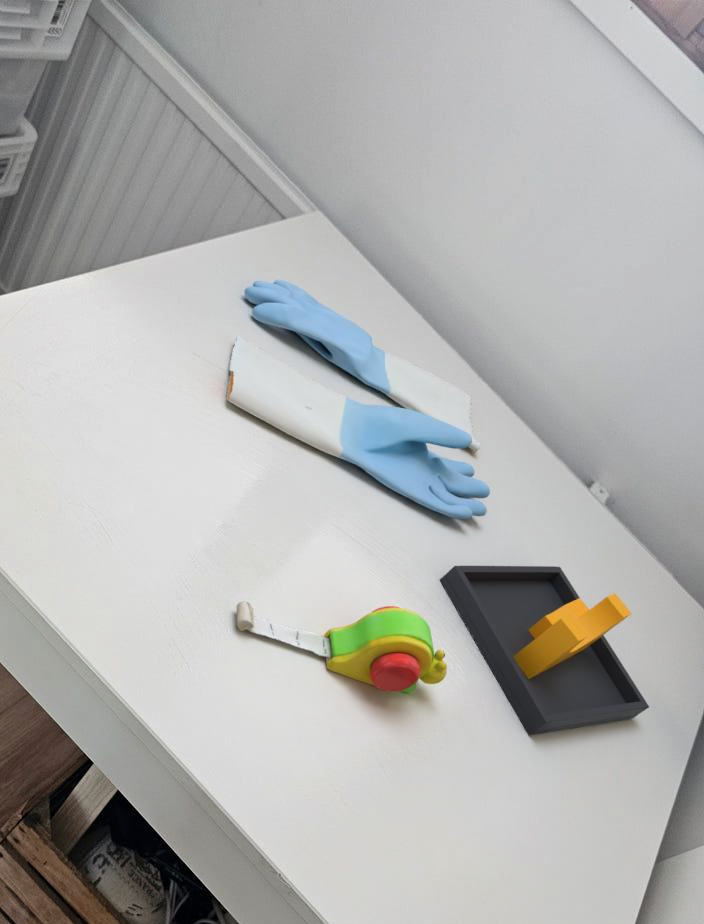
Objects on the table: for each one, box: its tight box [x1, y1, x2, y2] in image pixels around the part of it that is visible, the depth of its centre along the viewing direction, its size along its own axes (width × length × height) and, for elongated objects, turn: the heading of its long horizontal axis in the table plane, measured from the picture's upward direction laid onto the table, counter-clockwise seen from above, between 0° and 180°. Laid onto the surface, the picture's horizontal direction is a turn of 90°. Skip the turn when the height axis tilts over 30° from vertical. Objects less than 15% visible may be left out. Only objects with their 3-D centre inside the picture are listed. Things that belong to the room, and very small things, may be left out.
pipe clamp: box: [513, 592, 632, 679], centre depth 101 cm, size 12×4×6 cm, turn 129°
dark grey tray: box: [439, 565, 650, 736], centre depth 102 cm, size 18×18×2 cm
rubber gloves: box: [226, 279, 491, 520], centre depth 112 cm, size 27×33×6 cm
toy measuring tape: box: [236, 601, 448, 694], centre depth 84 cm, size 6×20×7 cm, turn 91°
